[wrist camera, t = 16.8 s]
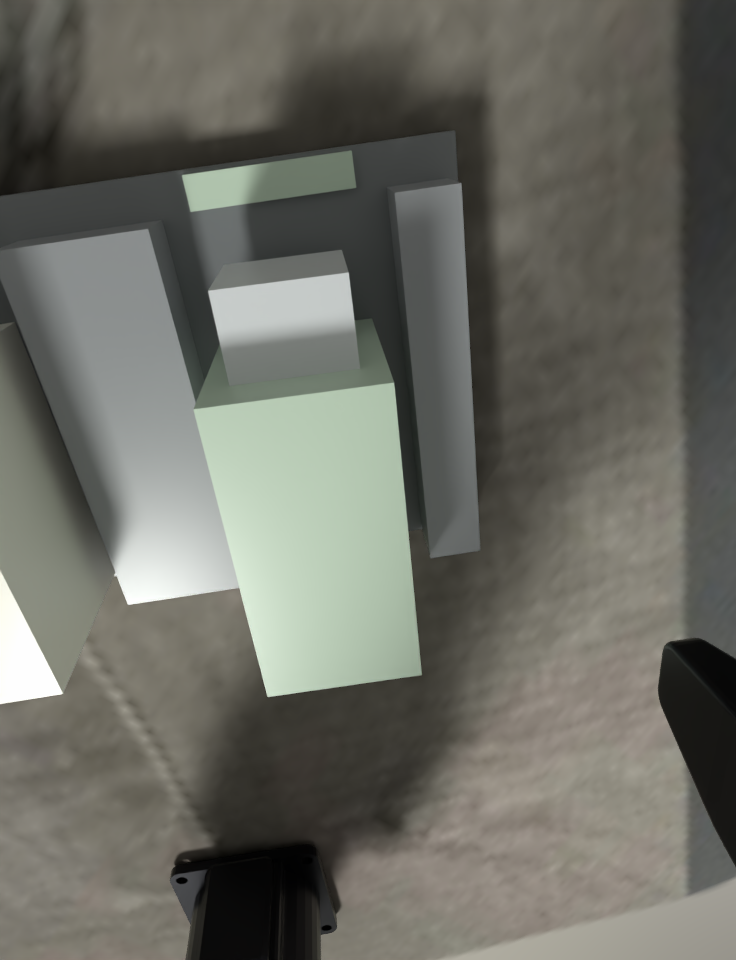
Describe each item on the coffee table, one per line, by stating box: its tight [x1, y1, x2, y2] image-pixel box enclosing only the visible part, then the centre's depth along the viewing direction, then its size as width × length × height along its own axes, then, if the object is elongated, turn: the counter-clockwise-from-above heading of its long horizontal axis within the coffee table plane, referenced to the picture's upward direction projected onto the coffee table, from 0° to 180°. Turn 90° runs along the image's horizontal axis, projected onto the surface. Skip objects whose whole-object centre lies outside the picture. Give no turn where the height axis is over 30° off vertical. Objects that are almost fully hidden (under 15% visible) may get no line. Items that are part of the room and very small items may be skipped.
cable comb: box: [0, 130, 480, 605], centre depth 17 cm, size 11×18×2 cm, turn 97°
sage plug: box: [193, 250, 422, 697], centre depth 16 cm, size 10×4×5 cm, turn 6°
